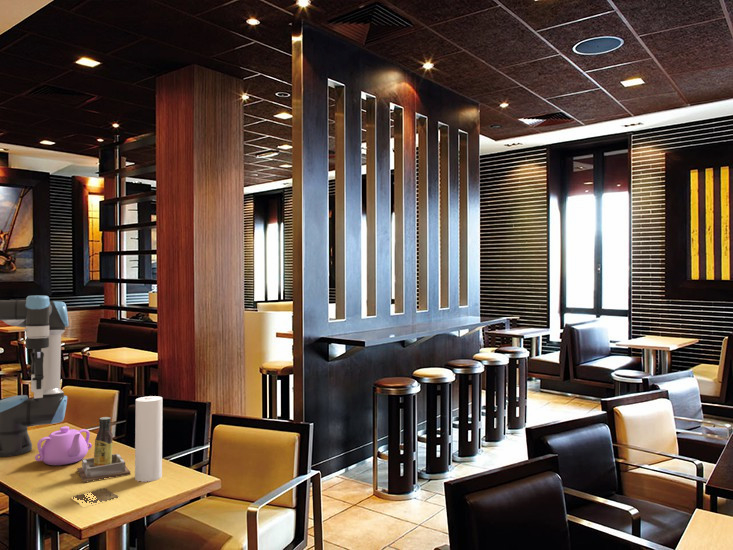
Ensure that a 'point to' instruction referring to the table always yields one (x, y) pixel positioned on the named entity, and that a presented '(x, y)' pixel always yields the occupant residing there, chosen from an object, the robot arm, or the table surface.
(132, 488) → the table surface
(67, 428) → the teapot
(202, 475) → the table surface
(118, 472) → the grey square tray
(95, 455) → the sauce bottle
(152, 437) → the cylinder container
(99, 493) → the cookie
